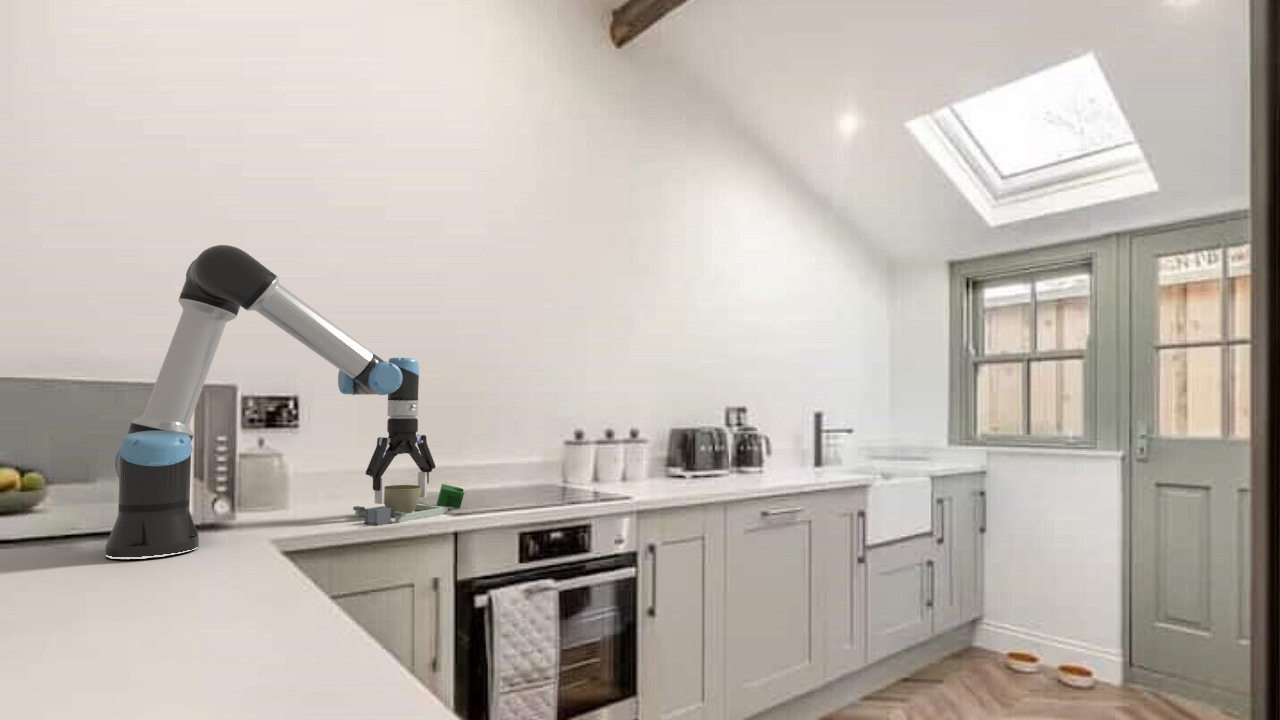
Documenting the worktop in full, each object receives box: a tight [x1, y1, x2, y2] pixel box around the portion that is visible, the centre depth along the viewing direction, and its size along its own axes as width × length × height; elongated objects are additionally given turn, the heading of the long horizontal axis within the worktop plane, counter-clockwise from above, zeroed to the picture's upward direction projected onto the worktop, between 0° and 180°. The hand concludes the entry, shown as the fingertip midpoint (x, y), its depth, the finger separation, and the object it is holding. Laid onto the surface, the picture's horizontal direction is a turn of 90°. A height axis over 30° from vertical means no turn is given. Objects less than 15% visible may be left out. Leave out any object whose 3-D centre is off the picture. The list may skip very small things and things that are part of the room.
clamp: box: [436, 483, 465, 509], centre depth 196 cm, size 12×6×9 cm, turn 10°
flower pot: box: [383, 484, 422, 517], centre depth 184 cm, size 10×10×7 cm
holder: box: [352, 503, 449, 523], centre depth 184 cm, size 16×18×2 cm
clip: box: [363, 506, 393, 526], centre depth 172 cm, size 4×5×4 cm
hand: (401, 500), depth 184 cm, fingers open, 13 cm apart
